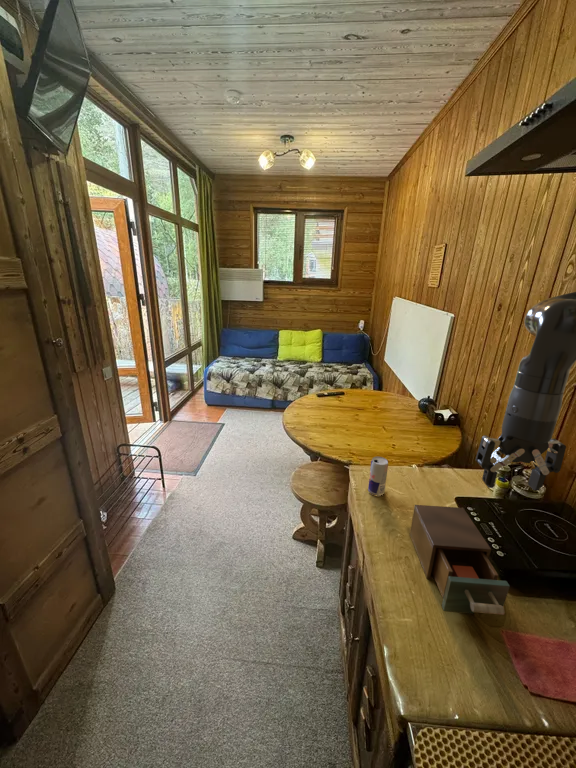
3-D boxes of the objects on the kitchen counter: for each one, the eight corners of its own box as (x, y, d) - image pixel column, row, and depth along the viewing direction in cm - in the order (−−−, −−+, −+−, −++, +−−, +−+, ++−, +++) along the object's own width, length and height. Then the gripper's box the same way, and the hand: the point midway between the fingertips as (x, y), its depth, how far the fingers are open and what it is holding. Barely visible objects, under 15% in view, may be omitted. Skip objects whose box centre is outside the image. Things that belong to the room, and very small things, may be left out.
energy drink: (366, 486, 106) (369, 455, 102) (382, 487, 106) (385, 456, 102) (369, 496, 101) (373, 464, 97) (386, 497, 100) (390, 465, 97)
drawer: (512, 638, 60) (523, 606, 57) (452, 632, 60) (460, 601, 58) (471, 564, 75) (478, 537, 73) (423, 560, 76) (428, 533, 74)
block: (468, 581, 70) (472, 566, 69) (478, 600, 66) (482, 584, 64) (448, 579, 70) (452, 565, 69) (457, 598, 66) (461, 583, 65)
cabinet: (482, 583, 72) (491, 549, 69) (426, 578, 72) (433, 545, 69) (456, 538, 85) (463, 507, 81) (409, 534, 85) (414, 504, 82)
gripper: (557, 405, 59) (535, 477, 64) (480, 402, 60) (464, 473, 65) (590, 422, 52) (562, 501, 57) (502, 418, 53) (483, 496, 58)
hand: (510, 486), depth 61 cm, fingers open, 8 cm apart
